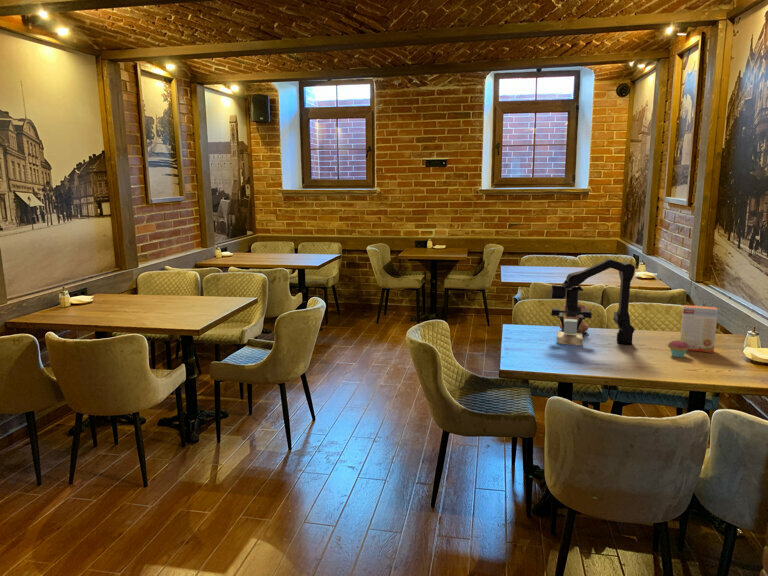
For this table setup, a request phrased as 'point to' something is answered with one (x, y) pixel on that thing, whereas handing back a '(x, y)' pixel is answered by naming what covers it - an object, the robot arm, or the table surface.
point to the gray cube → (570, 326)
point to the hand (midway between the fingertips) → (570, 329)
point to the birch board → (569, 338)
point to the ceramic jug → (583, 326)
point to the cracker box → (699, 327)
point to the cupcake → (678, 347)
